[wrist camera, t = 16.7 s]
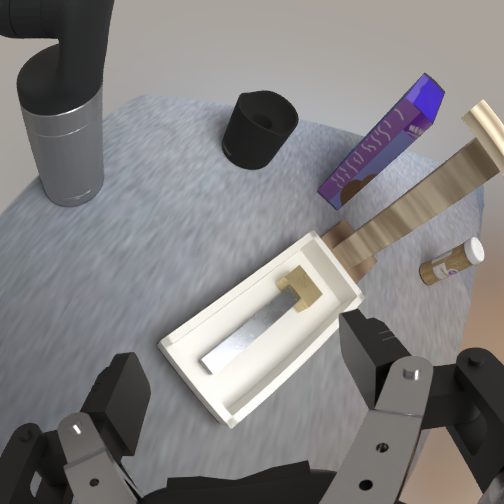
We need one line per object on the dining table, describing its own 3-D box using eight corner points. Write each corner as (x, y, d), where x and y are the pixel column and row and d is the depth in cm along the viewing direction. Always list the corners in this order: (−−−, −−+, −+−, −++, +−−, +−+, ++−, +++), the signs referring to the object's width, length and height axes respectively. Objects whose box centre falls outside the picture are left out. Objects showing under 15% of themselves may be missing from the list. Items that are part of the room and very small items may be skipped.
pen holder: (225, 123, 53) (244, 80, 44) (275, 140, 55) (299, 102, 47) (213, 161, 49) (232, 117, 40) (269, 180, 51) (296, 141, 43)
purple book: (337, 210, 54) (433, 123, 33) (316, 191, 54) (406, 96, 33) (370, 164, 63) (445, 91, 42) (353, 148, 63) (425, 71, 42)
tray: (219, 423, 35) (231, 428, 30) (157, 345, 36) (159, 340, 32) (345, 306, 47) (365, 297, 43) (297, 243, 48) (313, 229, 44)
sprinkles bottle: (421, 285, 55) (476, 260, 43) (416, 262, 57) (469, 234, 45) (435, 285, 57) (487, 261, 45) (430, 264, 58) (480, 237, 47)
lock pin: (217, 383, 36) (223, 383, 33) (190, 351, 36) (194, 348, 34) (311, 299, 44) (323, 294, 42) (289, 271, 45) (299, 264, 42)
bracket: (338, 299, 47) (528, 196, 20) (302, 252, 48) (469, 110, 20) (372, 263, 52) (529, 163, 25) (341, 221, 53) (483, 98, 26)
